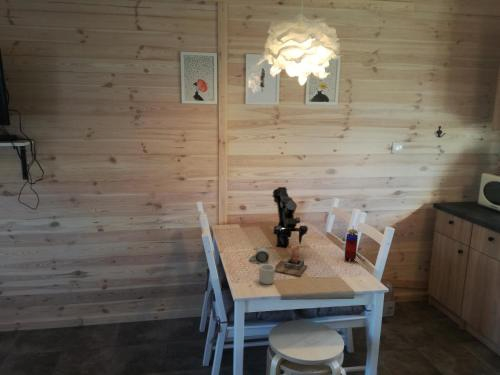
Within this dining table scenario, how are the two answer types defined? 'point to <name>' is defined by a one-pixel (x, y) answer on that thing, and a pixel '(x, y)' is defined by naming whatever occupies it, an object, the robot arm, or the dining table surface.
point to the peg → (294, 254)
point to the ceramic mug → (260, 256)
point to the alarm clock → (351, 244)
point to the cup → (266, 273)
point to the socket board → (291, 268)
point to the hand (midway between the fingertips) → (291, 244)
